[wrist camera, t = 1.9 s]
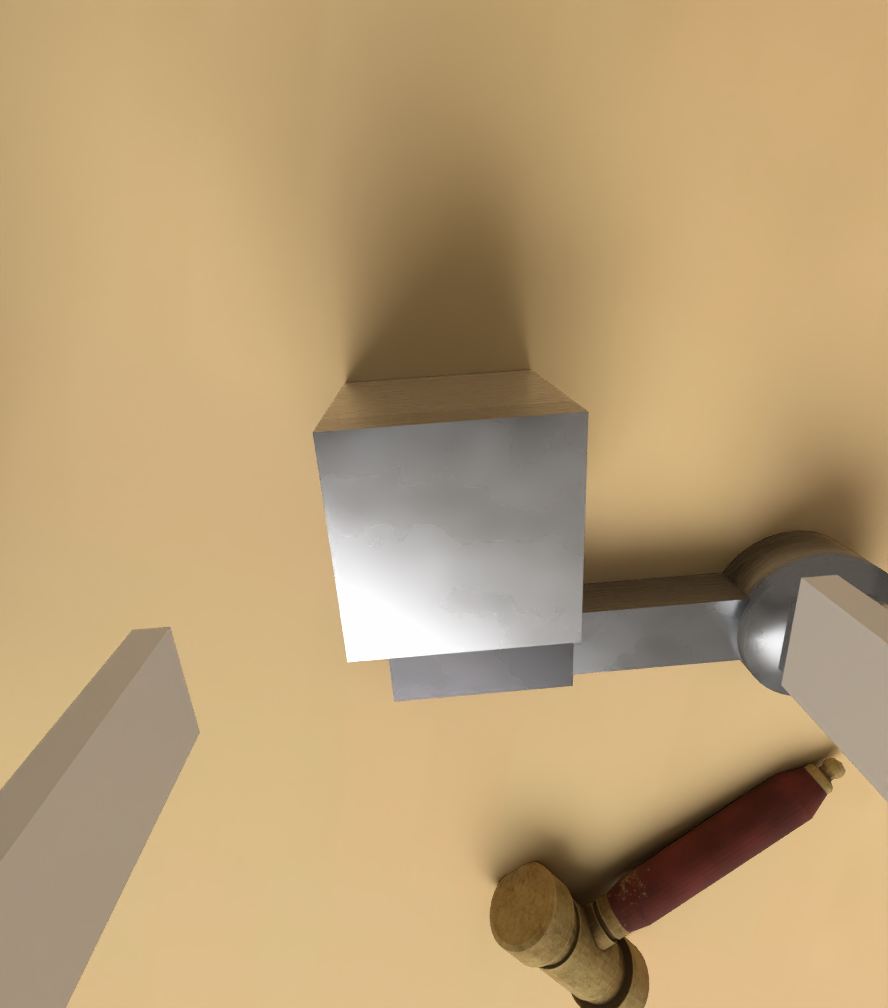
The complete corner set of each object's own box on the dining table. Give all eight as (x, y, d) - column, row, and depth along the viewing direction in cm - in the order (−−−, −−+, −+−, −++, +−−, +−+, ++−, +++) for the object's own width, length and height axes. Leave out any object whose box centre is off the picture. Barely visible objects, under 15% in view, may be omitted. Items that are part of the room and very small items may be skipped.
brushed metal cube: (366, 550, 25) (347, 661, 18) (344, 383, 23) (313, 432, 15) (531, 537, 26) (581, 642, 18) (530, 369, 23) (588, 411, 16)
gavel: (834, 740, 27) (913, 847, 30) (772, 681, 32) (847, 781, 35) (496, 968, 30) (600, 1045, 33) (481, 886, 34) (575, 961, 37)
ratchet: (398, 688, 28) (394, 832, 21) (384, 564, 26) (373, 678, 18) (838, 650, 29) (985, 777, 22) (867, 525, 26) (1046, 620, 19)
